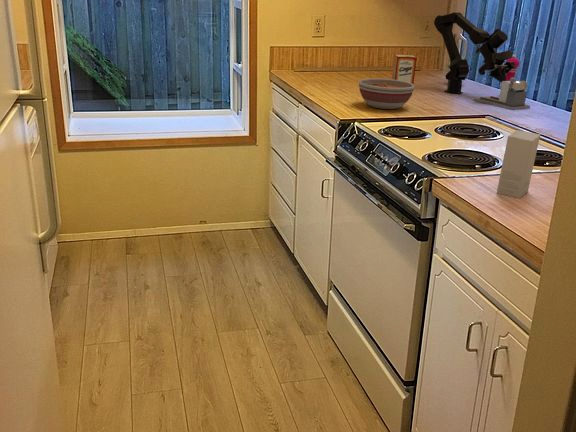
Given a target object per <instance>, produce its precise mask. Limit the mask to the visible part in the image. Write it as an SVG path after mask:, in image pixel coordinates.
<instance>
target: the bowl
mask: <svg viewBox="0 0 576 432" xmlns="http://www.w3.org/2000/svg"><path fill="white" fill-rule="evenodd" d="M358 87H359V93H360V95H361V97H362V99H363V100H364V102H365V103H366V104H367V105H369V106H370V107H372V108H376V109H384V110H394V109H400V108H401V107H403V106H404V105H405V104H406V103H408V102H409V100H410V99H411V98H412V95H413V93H414V90H415V84H412V83H409V82H405V81H400V80H392V78H391V79H390V78H364V79H360V80H359V81H358Z"/></svg>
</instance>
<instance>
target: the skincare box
mask: <svg viewBox="0 0 576 432" xmlns="http://www.w3.org/2000/svg"><path fill="white" fill-rule="evenodd" d="M540 138H541V134H540V133H536V132H529V131H523V130H517V129H516V130H514V132H511V133H510V134H509V135H507V139H506V145H505V150H504V155H503V159H502V165H501V169H500V173H499V174H500V175H499V179H498V182H497V183H498V184H497V190H496V194H500V195H503V196H508V197H510V198H511V197H512V198H516V199H521V198H522V197H523V196H524V195H525V194H527V192H528V191H529V188H530V184H531V183H530V182H531V179H532V174H533V170H534V165H535V161H536V156H537V151H538V148H539V143H540V140H541V139H540Z"/></svg>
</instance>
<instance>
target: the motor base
mask: <svg viewBox="0 0 576 432" xmlns="http://www.w3.org/2000/svg"><path fill="white" fill-rule="evenodd" d="M509 88H510V90H511V91H508V92H507V98H506V103H504V102H500V101H499V96H497V97H496V96H492V95H490V96H489V95H488V96H480V97H473V99H472V101H475V102H478V103H482V104H486V105H490V106H495V107H498V108H503V109H506V110H509V111H510V110H511V111H515V109H518V110H526V109H525V108H527V109H531V105H530V104H526V100H527V95H528V91H526V90H527V88H528V82H527V81H525V80H515V81H513V82H511V83H510V86H509Z"/></svg>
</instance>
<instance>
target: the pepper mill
mask: <svg viewBox="0 0 576 432" xmlns="http://www.w3.org/2000/svg"><path fill="white" fill-rule="evenodd" d="M516 57H517V55H516V54H513V56H512V57H511V59H507V60H505V63H506V62H514V63H515V65H516V66H515V67H514V68H513V69H512V70H511V71H509V72H508V73H506V81H510V79H511V77H514V78H515V79H516V77H515V75H516V74H517V72H518V68H519V66H520V61H519V59H518V58H516ZM501 85H502V83H501V84H500V86H499V87H500V88H499V89H500V90H501Z"/></svg>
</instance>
